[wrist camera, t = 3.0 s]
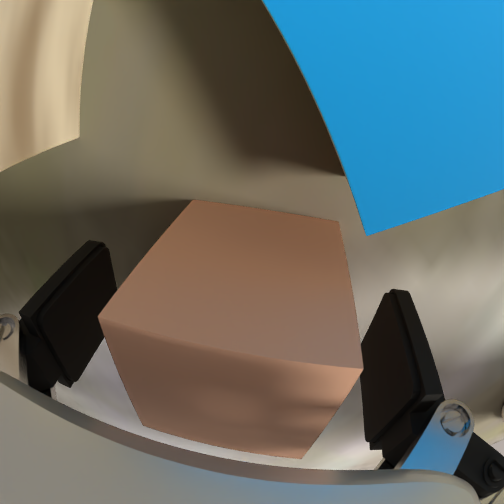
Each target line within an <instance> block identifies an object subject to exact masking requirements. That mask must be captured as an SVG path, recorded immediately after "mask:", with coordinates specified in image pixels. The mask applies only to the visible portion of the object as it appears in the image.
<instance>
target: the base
mask: <svg viewBox="0 0 504 504" xmlns="http://www.w3.org/2000/svg"><path fill="white" fill-rule="evenodd" d="M92 4H93V0H0V172H1V171H3V170H5V169H7V168H9V167H11V166H13V165H15V164H17V163H19V162H21V161H23V160H26V159H28V158H30V157H32V156H34V155H37V154H39V153H41V152H44V151H46V150H48V149H51V148H53V147H56V146H58V145H61V144H63V143H66V142H68V141H71V140H74V139H76V138H79V115H80V93H81V79H82V68H83V59H84V51H85V43H86V36H87V30H88V24H89V19H90V13H91V8H92Z"/></svg>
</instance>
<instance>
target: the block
mask: <svg viewBox="0 0 504 504" xmlns="http://www.w3.org/2000/svg"><path fill="white" fill-rule="evenodd" d="M98 319H99V322H100V325H101V328H102V331H103V334H104V336H105V339H106V342H107V345H108V347H109V350H110V353H111V355H112V358H113V360H114V363H115V365H116V368H117V370H118V373H119V375H120V377H121V380H122V382H123V384H124V387H125V389H126V391H127V393H128V396H129V398H130V400H131V402H132V404H133V406H134V408H135V410H136V412H137V414H138V416H139V419H140V420H141V422H142V424H143V426H146V427H149V428H152V429H155V430H158V431H161V432H164V433H168V434H171V435H175V436H178V437H182V438H185V439H189V440H193V441H197V442H201V443H205V444H209V445H214V446H218V447H223V448H228V449H233V450H238V451H244V452H250V453H256V454H263V455H270V456H278V457H287V458H297V459H302V457H303V456H304V455H305V454H306V452H307V451H308V450H309V448H310V447H311V446H312V445H313V443H314V442H315V441H316V439H317V438H318V437H319V435H320V434H321V433H322V431H323V430H324V428H325V427H326V426H327V424H328V423H329V421H330V420H331V419H332V417H333V416H334V414H335V413H336V411H337V410H338V408H339V407H340V405H341V404H342V402H343V401H344V399H345V398H346V396H347V395H348V393H349V392H350V390H351V389H352V387H353V385H354V384H355V382H356V381H357V379H358V377H359V376H360V374H361V372H362V371H363V360H362V352H361V344H360V336H359V329H358V323H357V316H356V310H355V303H354V297H353V292H352V286H351V280H350V275H349V270H348V264H347V259H346V254H345V250H344V245H343V240H342V235H341V231H340V226H339V222H337V221H331V220H326V219H320V218H314V217H308V216H302V215H296V214H290V213H284V212H278V211H271V210H265V209H258V208H251V207H245V206H238V205H231V204H223V203H216V202H208V201H201V200H192V201H191V202H190V204H189V205H188V206H187V207H186V208H185V209H184V210H183V211H182V213H181V214H180V215H179V216H178V217H177V218H176V219H175V221H174V222H173V223H172V224H171V225H170V226H169V227H168V229H167V230H166V231H165V232H164V233H163V234H162V236H161V237H160V238H159V239H158V240H157V242H156V243H155V244H154V245H153V246H152V248H151V249H150V250H149V251H148V252H147V254H146V255H145V256H144V257H143V259H142V260H141V261H140V262H139V263H138V265H137V266H136V267H135V268H134V270H133V271H132V272H131V273H130V275H129V276H128V277H127V279H126V280H125V281H124V282H123V284H122V285H121V286H120V288H119V289H118V290H117V291H116V293H115V294H114V295H113V297H112V298H111V299H110V301H109V302H108V303H107V305H106V306H105V307H104V309H103V310H102V311H101V313H100V314H99V315H98Z"/></svg>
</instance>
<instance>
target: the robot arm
mask: <svg viewBox="0 0 504 504" xmlns="http://www.w3.org/2000/svg"><path fill="white" fill-rule="evenodd" d="M116 291H117V287H116V282H115V278H114V273H113V268H112V263H111V258H110V253H109V249H108V248H106V246H105V244H104V243H102V242H97V241H91V240H90V241H87V242H86V243H85V244H84V245H83V246H82V247H81V248H80V249H79V250H78V251H77V252H76V253H75V254H73V255H72V256H71V257H70V258H69V259H68V260H67V261H66V262H65V263H64V264H63V265H62V266H61V267H60V268H59V269H58V270H57V271H56V272H55V273H54V274H53V275H52V276H51V277H50V279H49V280H48V281H47V282H46V283H45V284H44V285H43V286H42V287H41V288H40V289H39V290H38V291H37V292H36V293H35V294H34V296H33V297H32V298H31V299H30V300H29V301H28V302H27V303H26V304H25V306H24V307H23V308H22V309H21V310H20V311H19V314H20V316H21V319H20V321H19V320H18V319H17V317H16V316H14V315H12V314H3V315H0V504H504V457H503V456H502V455H501V454H500V453H499V452H498V451H496V450H495V449H494V448H493V447H491V446H490V445H489V444H488V443H486V442H485V441H484V440H483V439H481V438H480V437H479V436H478V435H476V434H475V433H474V432H473V429H474V417H473V415H472V412H471V411H470V409H469V408H468V407H467V406H466V405H465V404H464V403H463V402H461V401H459V400H454V399H449V400H446V401H445V398H444V394H443V390H442V386H441V383H440V379H439V376H438V372H437V369H436V366H435V363H434V359H433V356H432V353H431V350H430V347H429V344H428V341H427V338H426V335H425V333H424V330H423V327H422V324H421V321H420V319H419V316H418V313H417V311H416V308H415V305H414V303H413V300H412V298H411V295H410V293H409V292H408V291H404V290H397V289H391V290H390V292H389V293H385V294H384V296H383V298H382V300H381V303H380V305H379V307H378V309H377V312H376V314H375V316H374V318H373V320H372V322H371V324H370V327H369V329H368V331H367V333H366V335H365V337H364V339H363V341H362V343H361V352H362V360H363V371H362V372H361V374H360V382H361V392H362V403H363V416H364V431H365V440H366V441H367V442H369V443H370V450H382V454H383V459H382V460H381V461H380V463H379V464H378V465H377V466H376V468H375V469H374V470H319V469H301V468H289V467H278V466H270V465H262V464H255V463H248V462H242V461H236V460H231V459H225V458H220V457H215V456H210V455H206V454H202V453H197V452H193V451H189V450H185V449H181V448H178V447H174V446H171V445H167V444H164V443H160V442H157V441H154V440H151V439H148V438H145V437H142V436H139V435H136V434H133V433H130V432H127V431H125V430H122V429H119V428H117V427H114V426H111V425H109V424H106V423H104V422H101V421H99V420H97V419H94V418H92V417H90V416H87V415H85V414H83V413H81V412H79V411H76V410H74V409H72V408H70V407H68V406H66V405H64V404H62V403H60V402H58V401H57V395H56V389H55V384H56V382H57V380H58V382H59V383H61V384H63V385H65V386H67V387H69V388H71V386H72V384H73V383H74V382H76V381H78V380H79V378H80V376H81V375H82V373H83V371H84V370H85V368H86V366H87V365H88V363H89V361H90V360H91V358H92V356H93V355H94V353H95V352H96V350H97V348H98V347H99V345H100V343H101V342H102V340H103V339H104V337H105V336H104V334H103V331H102V328H101V325H100V322H99V319H98V315H99V314H100V313H101V311H102V310H103V309H104V307H105V306H106V305H107V303H108V302H109V301H110V299H111V298H112V297H113V295H114V294H115V293H116ZM501 414H502V418H503V422H504V406H503V408H502V412H501Z"/></svg>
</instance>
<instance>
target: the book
mask: <svg viewBox="0 0 504 504" xmlns="http://www.w3.org/2000/svg"><path fill="white" fill-rule="evenodd" d="M261 1H262V3H263V4H264V6H265V8H266V9H267V11H268V13H269V14H270V16H271V18H272V19H273V21H274V23H275V25H276V26H277V28H278V30H279V32H280V33H281V35H282V37H283V39H284V41H285V43H286V44H287V46H288V48H289V50H290V52H291V54H292V56H293V58H294V60H295V62H296V64H297V66H298V67H299V69H300V72H301V74H302V76H303V78H304V80H305V82H306V84H307V86H308V88H309V90H310V92H311V94H312V97H313V99H314V101H315V103H316V105H317V108H318V110H319V112H320V114H321V117H322V119H323V121H324V124H325V126H326V128H327V131H328V133H329V136H330V138H331V140H332V143H333V145H334V148H335V150H336V153H337V156H338V158H339V161H340V163H341V166H342V169H343V171H344V174H345V177H346V179H347V181H348V183H349V186H350V188H351V191H352V194H353V197H354V200H355V203H356V206H357V209H358V212H359V215H360V218H361V221H362V224H363V227H364V230H365V233H366V236H368V235H371V234H374V233H377V232H380V231H383V230H386V229H389V228H392V227H395V226H398V225H401V224H404V223H407V222H410V221H413V220H416V219H419V218H422V217H425V216H428V215H431V214H434V213H437V212H440V211H443V210H446V209H449V208H451V207H454V206H457V205H460V204H463V203H466V202H469V201H472V200H474V199H477V198H480V197H483V196H486V195H489V194H491V193H494V192H497V191H500V190H502V189H504V0H261Z"/></svg>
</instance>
